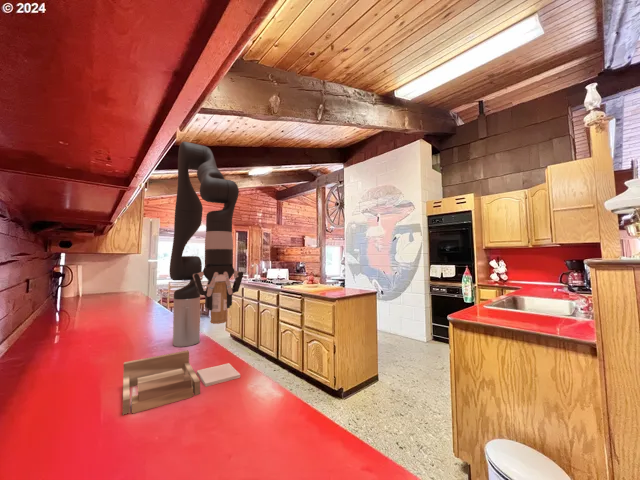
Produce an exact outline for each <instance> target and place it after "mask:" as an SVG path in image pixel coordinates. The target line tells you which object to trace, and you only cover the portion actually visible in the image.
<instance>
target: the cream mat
mask: <svg viewBox="0 0 640 480" xmlns="http://www.w3.org/2000/svg"><path fill="white" fill-rule="evenodd" d="M196 375H197V377H198V378H199V380H200V382H202V383H203V384H202V385H204V387H205V388H207V387H209V386H213V385H217V384H221V383H225V382H230V381H232V380H235V379H240V378H241V373H240V372H239V371H238V370H236V368H235V367H233V365H232V364H231V363H229V362H228V363H224V364H220V365H215V366H210V367H207V368H202V369H198V370H196Z"/></svg>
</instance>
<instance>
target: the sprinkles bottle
mask: <svg viewBox="0 0 640 480" xmlns="http://www.w3.org/2000/svg"><path fill="white" fill-rule="evenodd" d="M213 281H214V280H213ZM225 281H226V277H225V275H223V274H219V275H217V276H216V278H215V286H214V288H213V291H212V294H211V297H212V310H210V321H209V322H210V324H213V325H219V324H225V323H226V322H228V313H227V312H228V308H227V287H226V282H225Z"/></svg>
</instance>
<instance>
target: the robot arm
mask: <svg viewBox="0 0 640 480" xmlns="http://www.w3.org/2000/svg"><path fill="white" fill-rule="evenodd" d="M177 156H178V157H177V190H176V198H175V199H176V200H175V208H174V209H175V210H174V224H173V228H174V229H173V240H172V241H173V242H172V249H171V256H170V260H169V261H170V262H169V263H170V264H169V277H170V279H171V280H172V281H188V280H189V282H188V284H186V285H185V286H183V287H181V288H179V289H176V290H175V291H174V292H173V315H172V316H173V320H172V322H173V327H172V345H173V346H174V347H177V348H178V347H180V348H182V347H190V346H193V345H196V344H198V343H200V339H201V338H200V335H201V334H200V333H201V296H204V307H205V309H207V311H211V310H212V297H211V294H212V291H213V288H214V286H215V278H216V276H217V275H219V274H223V275H225V277H226V281H225V282H226V287H227V309H230V308H231V306H232V304H233V294H235V293H237V292H239V290H240V287H241V283H242V280H243V277H244V272H243V271H238V270H235V268H234V266H233V265H234V256H233V255H234V237H233V217H234V213H235V208H236V204H237V201H238V198H239V193H240V191H239V189H240V188H239V186H238V184H237V183H236V182H235V181H234V180H230V179H225V177H224V175H223V173H222V172H221V171H220V170H219V168H218V167H217V163H216V160H215V156H214V153H213V151H212V150H211V148H210V147H208V146H205V145H202V144H197V143H193V142H188V141H182V142H181V143H180V145H179V148H178V155H177ZM189 170H192V171H193V170H194V171H196V177H197V179H198V181H199V183H200V185H199V195H200V197H199V195H198V194H197V192H196V191H195V188H194V186H193V184H192V182H191V178H190V171H189ZM200 198H201V199H202V200H204V201H205V202H207V203H210V204H211V203H214V204H223V208H222V209H218V210H210V211H208V212H207V213H206V217H205V218H206V219H205V220H206V223H205V238H204V268H203V270H202V267H203V265H202V264H203V263H202V259H201V258H200V257H199V256H197V255H186V256H185V255H183V253H184V251H185V248H186V245H188V242H189V241H190V240H191V238H192V237H193V236H195V234H196V232H197V231H198V230H199V228H200V227H201V225H202V219H203V208H204V207H203V204H202V202H201V200H200ZM203 276H204V277H205V278H206V279H207V284H206V286H205V290H204V286H203V285H202V281H203ZM232 276H233V277H234V280H233V285H232V284H231V280H230V279H231V278H232ZM213 280H214V281H213Z"/></svg>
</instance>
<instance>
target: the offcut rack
mask: <svg viewBox="0 0 640 480" xmlns="http://www.w3.org/2000/svg"><path fill="white" fill-rule="evenodd" d="M122 377H123V380H122V416H124V414H126V415H128V414H127V413H129V414H130V410H131V414H132V413H133V414H136V413H140V412H143V411H147V410H151V409H154V408H157V407H162V406H165V405H168V404H172V403H174V402H175V403H176V402H178V401H183V400H186V399H190V398H194V396H197V395H201V379H200V377H199V376H198V374H197V372H196V371H195V370H194V369H193V367H192V365H191V364H190V351H189V350H187V349H186V350H183V351H177V352H172V353H167V354H162V355H157V356H156V355H155V356H151V357H147V358H146V357H145V358H140V359H134V360H129V361H124V362H123V374H122ZM132 387H137V394H136V395H131V397H130V393H131V391H130V388H132ZM130 405H131V406H130ZM130 407H131V408H130Z"/></svg>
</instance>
